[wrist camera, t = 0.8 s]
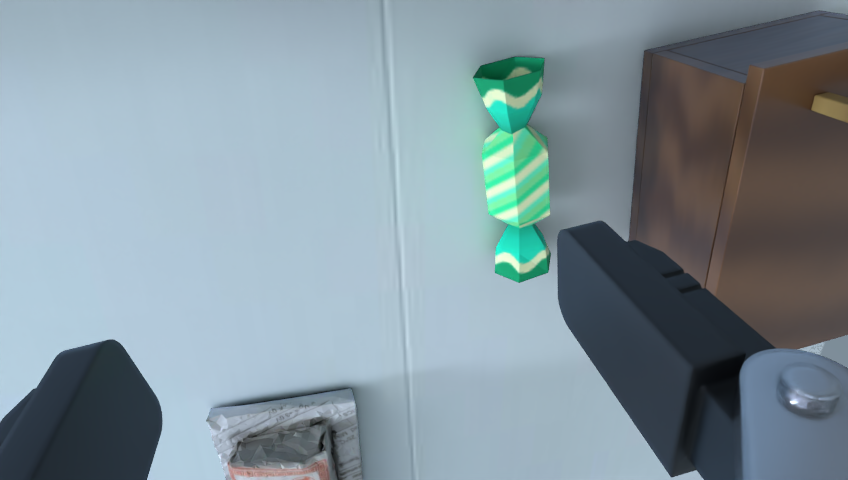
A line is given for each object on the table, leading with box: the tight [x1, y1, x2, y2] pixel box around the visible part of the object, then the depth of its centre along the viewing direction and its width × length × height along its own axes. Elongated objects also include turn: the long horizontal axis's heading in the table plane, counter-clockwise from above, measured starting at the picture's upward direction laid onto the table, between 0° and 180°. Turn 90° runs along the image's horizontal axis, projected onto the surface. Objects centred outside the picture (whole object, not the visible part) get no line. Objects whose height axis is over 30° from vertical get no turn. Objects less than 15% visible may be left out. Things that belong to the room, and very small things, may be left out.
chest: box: [629, 11, 848, 288], centre depth 29 cm, size 18×11×7 cm, turn 9°
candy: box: [473, 57, 551, 283], centre depth 27 cm, size 12×3×4 cm
